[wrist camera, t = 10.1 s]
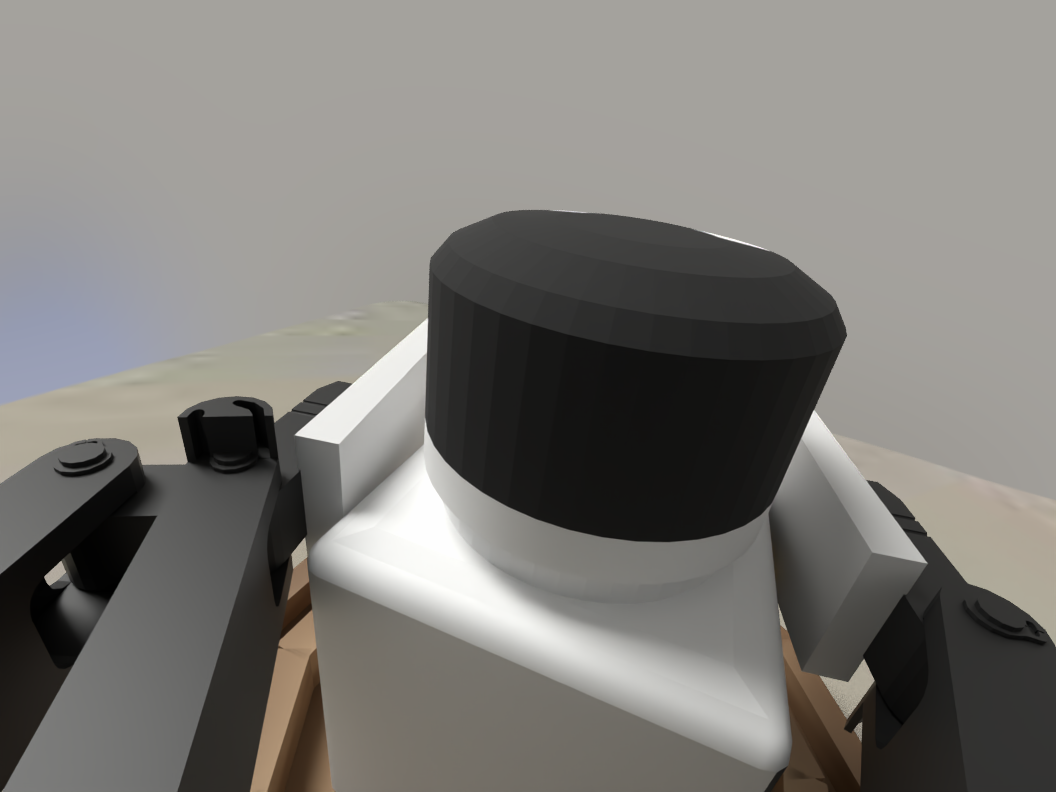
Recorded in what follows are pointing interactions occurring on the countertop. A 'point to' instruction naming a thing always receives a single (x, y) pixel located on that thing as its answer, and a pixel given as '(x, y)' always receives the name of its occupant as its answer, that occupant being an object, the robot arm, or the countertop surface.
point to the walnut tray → (301, 744)
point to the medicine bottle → (579, 520)
